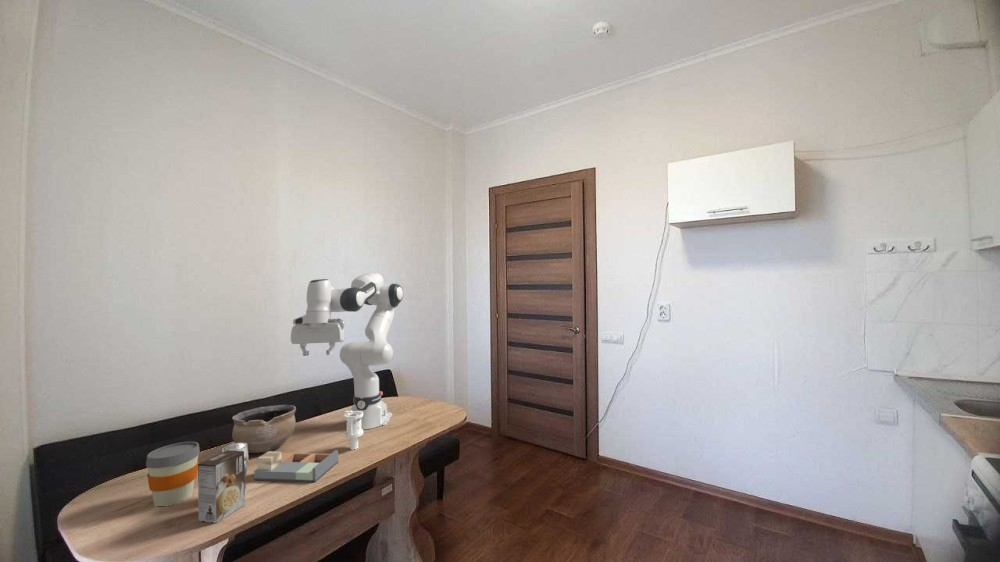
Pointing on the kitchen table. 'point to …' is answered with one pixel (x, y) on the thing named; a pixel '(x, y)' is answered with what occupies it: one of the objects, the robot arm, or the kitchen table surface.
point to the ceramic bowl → (264, 427)
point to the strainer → (353, 427)
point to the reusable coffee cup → (172, 472)
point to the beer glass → (240, 448)
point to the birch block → (269, 460)
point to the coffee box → (221, 485)
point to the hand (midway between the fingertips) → (317, 355)
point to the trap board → (299, 467)
